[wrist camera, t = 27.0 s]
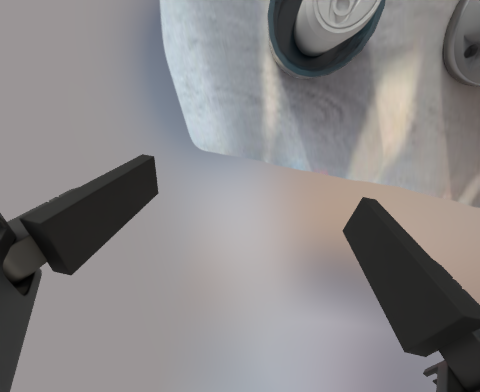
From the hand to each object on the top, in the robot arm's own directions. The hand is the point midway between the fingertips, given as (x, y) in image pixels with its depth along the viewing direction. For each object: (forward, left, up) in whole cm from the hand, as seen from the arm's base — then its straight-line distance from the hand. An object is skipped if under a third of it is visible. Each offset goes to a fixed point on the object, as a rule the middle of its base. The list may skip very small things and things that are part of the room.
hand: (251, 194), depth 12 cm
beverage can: (-5, -14, -24) cm, 28 cm away
